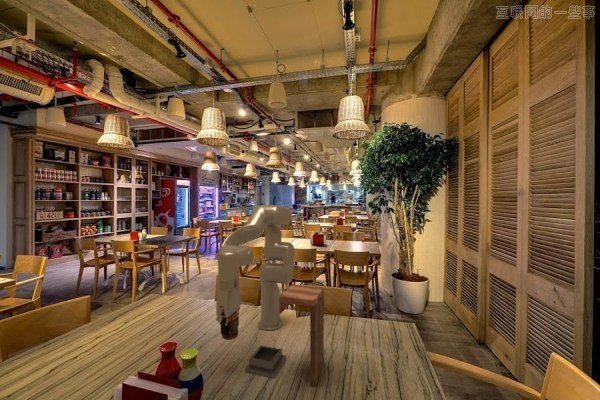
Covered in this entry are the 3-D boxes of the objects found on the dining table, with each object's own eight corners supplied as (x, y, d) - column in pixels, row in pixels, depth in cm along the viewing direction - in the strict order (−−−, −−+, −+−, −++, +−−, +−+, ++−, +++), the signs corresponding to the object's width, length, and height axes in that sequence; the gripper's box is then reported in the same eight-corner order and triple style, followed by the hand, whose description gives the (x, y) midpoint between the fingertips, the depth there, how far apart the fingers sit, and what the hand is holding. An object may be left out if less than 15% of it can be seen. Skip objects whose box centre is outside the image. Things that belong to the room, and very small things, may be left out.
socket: (259, 354, 113) (259, 343, 113) (286, 359, 109) (286, 348, 109) (244, 371, 101) (244, 360, 101) (274, 378, 98) (274, 366, 98)
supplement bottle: (239, 332, 106) (239, 303, 105) (236, 340, 100) (235, 310, 99) (224, 332, 106) (223, 304, 105) (220, 341, 100) (219, 310, 99)
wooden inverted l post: (292, 357, 111) (292, 284, 110) (323, 363, 107) (323, 287, 106) (279, 379, 97) (279, 296, 97) (314, 387, 93) (314, 300, 93)
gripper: (232, 275, 111) (233, 318, 112) (205, 290, 95) (207, 340, 96) (248, 276, 109) (249, 320, 110) (224, 292, 93) (225, 344, 93)
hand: (230, 329), depth 103 cm, fingers closed on supplement bottle, 6 cm apart
